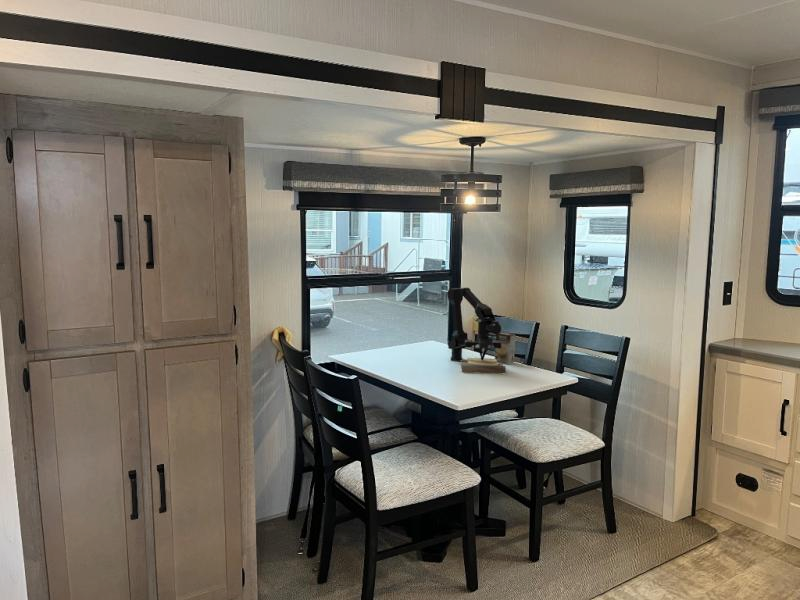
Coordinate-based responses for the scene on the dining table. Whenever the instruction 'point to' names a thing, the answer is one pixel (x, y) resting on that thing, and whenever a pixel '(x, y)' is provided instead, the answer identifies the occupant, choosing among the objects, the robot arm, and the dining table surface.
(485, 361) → the tan rectangular panel
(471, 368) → the floor board
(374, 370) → the dining table surface
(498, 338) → the coffee box
